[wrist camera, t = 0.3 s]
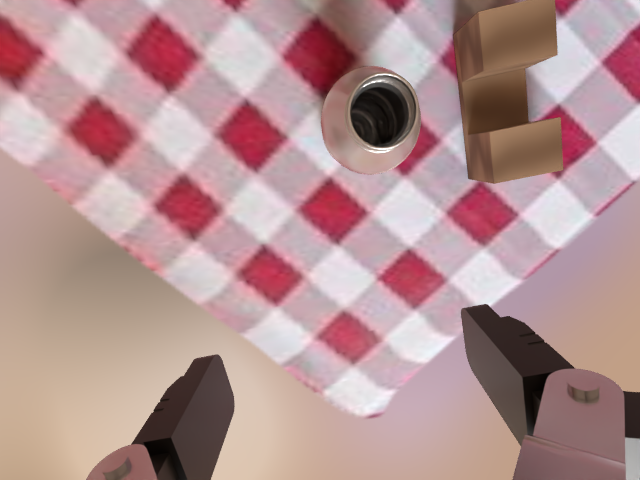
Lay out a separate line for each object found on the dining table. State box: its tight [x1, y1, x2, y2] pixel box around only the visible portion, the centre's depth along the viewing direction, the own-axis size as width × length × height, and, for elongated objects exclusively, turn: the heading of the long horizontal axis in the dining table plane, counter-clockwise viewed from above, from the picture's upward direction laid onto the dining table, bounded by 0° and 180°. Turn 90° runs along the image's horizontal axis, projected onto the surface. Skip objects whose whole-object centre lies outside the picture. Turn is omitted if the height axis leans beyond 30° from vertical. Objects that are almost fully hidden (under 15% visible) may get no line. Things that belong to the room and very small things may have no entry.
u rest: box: [453, 0, 563, 184], centre depth 33 cm, size 14×6×6 cm, turn 12°
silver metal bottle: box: [321, 66, 421, 175], centre depth 27 cm, size 6×7×20 cm
